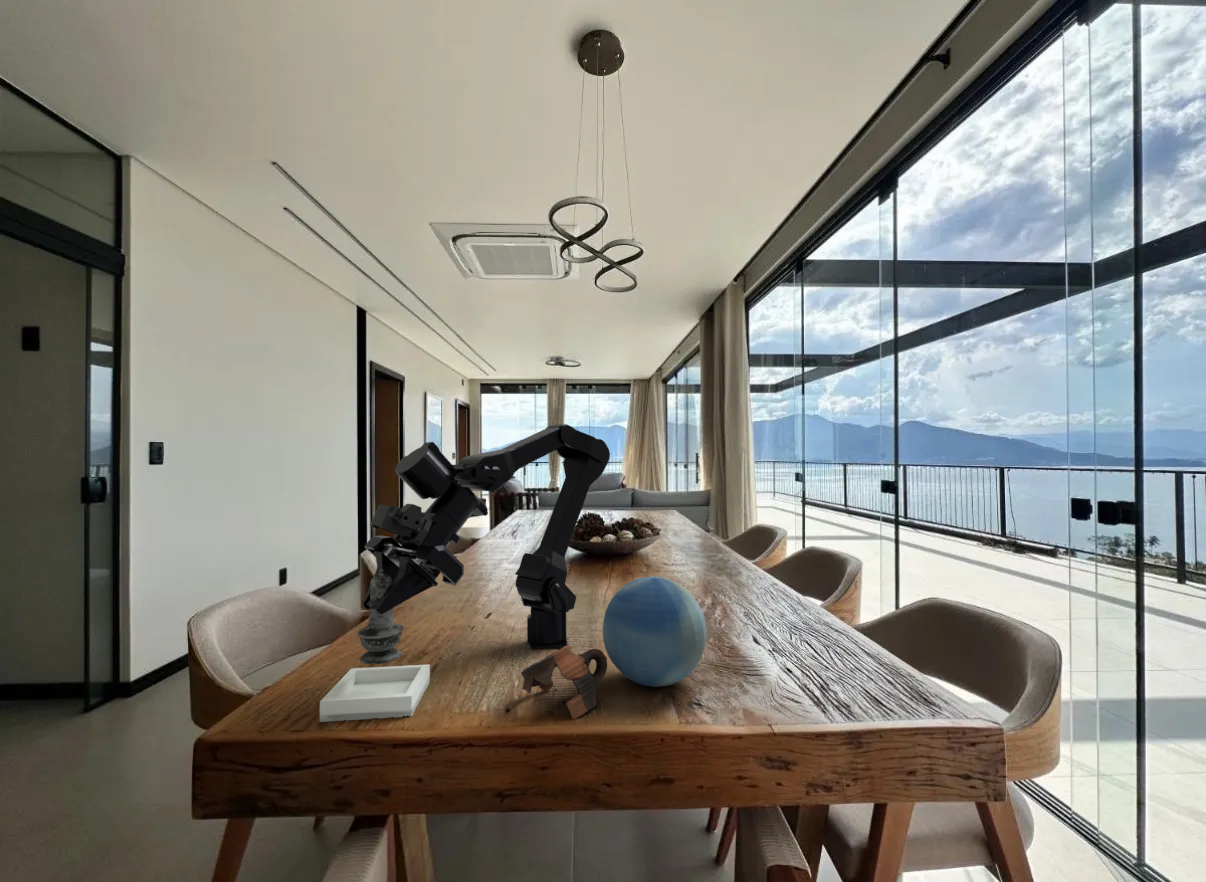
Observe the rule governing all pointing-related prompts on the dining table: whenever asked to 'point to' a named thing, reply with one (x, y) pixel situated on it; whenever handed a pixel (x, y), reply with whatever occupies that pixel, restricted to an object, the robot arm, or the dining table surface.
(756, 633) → the dining table surface
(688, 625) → the decorative ball
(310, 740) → the dining table surface
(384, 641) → the grey stone finial
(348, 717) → the box
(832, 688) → the dining table surface
